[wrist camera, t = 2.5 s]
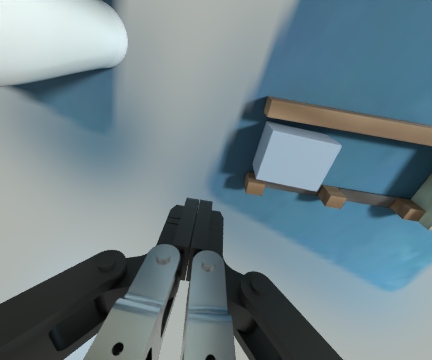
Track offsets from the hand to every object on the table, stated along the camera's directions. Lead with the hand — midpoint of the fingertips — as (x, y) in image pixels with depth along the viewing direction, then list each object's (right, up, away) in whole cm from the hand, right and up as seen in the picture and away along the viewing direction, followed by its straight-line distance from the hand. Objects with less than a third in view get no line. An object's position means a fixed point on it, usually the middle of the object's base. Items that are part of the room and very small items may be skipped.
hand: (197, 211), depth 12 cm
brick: (+10, +6, +12) cm, 17 cm away
